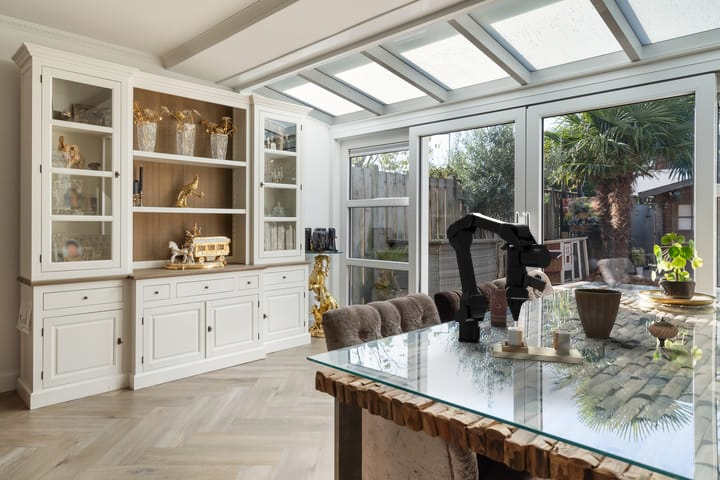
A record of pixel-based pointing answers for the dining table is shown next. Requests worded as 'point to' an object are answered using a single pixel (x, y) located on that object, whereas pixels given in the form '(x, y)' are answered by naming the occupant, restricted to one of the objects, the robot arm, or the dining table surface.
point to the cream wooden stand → (541, 350)
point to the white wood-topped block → (514, 336)
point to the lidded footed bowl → (663, 331)
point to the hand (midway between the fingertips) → (515, 318)
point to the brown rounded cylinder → (498, 308)
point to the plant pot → (597, 310)
